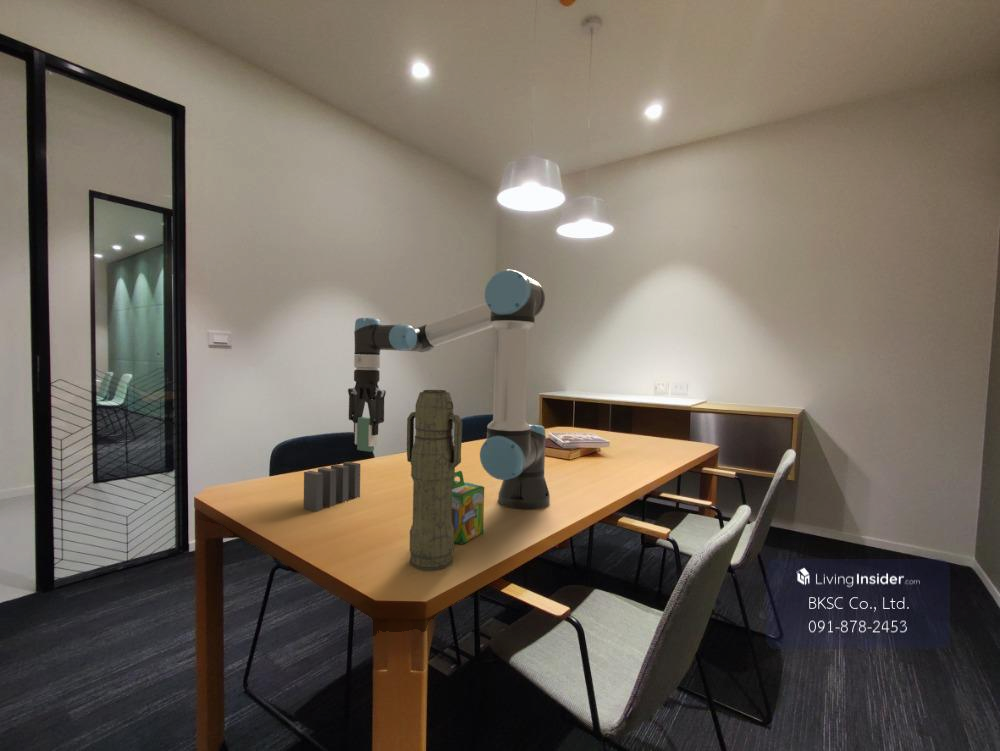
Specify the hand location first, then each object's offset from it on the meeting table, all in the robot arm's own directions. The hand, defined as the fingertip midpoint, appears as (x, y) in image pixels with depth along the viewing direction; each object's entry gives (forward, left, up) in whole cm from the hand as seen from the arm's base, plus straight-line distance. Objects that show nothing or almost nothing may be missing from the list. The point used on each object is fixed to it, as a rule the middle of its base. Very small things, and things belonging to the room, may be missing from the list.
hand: (365, 444), depth 138 cm
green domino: (0, 0, -2) cm, 2 cm away
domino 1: (-11, +16, -15) cm, 24 cm away
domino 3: (-6, +8, -15) cm, 18 cm away
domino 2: (-8, +12, -15) cm, 21 cm away
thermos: (-54, -4, -15) cm, 56 cm away
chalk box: (-43, -14, -15) cm, 48 cm away
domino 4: (-3, +4, -15) cm, 16 cm away
